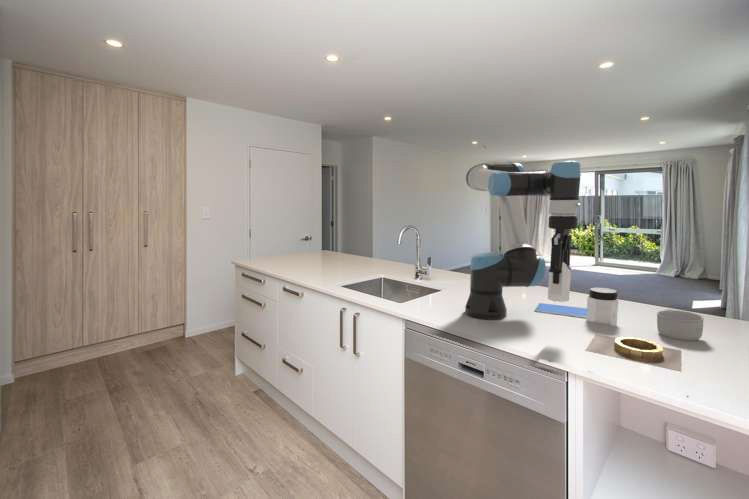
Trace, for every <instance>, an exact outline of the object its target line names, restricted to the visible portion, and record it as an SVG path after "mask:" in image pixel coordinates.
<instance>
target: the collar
mask: <svg viewBox="0 0 749 499" xmlns="http://www.w3.org/2000/svg"><path fill="white" fill-rule="evenodd" d="M615 338H616V339H615V342H614V349H616V350H617V351H618V352H620V353H622V354H625V355H627V356H631V357H635V358H640V359H651V360H656V359H660V358H662V353H663V347H664V346H661V344H659V343H657V342H654V341H650V340H648V339H644V338H638V337H630V336H628V337H627V336H620V337H615ZM626 345H627V346H626ZM628 346H637V347H642V348H646V349H649V350H640V349H635V348H631V347H628Z"/></svg>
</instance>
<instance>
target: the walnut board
mask: <svg viewBox="0 0 749 499" xmlns="http://www.w3.org/2000/svg"><path fill="white" fill-rule="evenodd" d="M616 338H617V337H613V336H607V335H604V334H603V335H602V334H597V333H596V334H595V335H594V336H593V338H592V339H591V341H590V343H589V344H588V346H587V347H586V349H585V352H591V353H594V354H595V353H596V354H599V355H603V356H609V357H614V358H616V359H621V360H626V361H627V360H628V361H632V362H636V363H641V364H645V365H648V366H653V367H659V368H663V369H666V370H667V369H668V370H673V371H677V372H682V350H680V349H675V348H671V347H665V346H662V347H663V353H662V358H660V359H656V360H651V359H640V358H635V357H631V356H627V355H625V354H622V353H620V352H618V351H617V350H616V349H614V342H615V339H616ZM626 346H627V345H626ZM628 347H631V348H635V349H640V350H649V349H646V348H642V347H637V346H628Z"/></svg>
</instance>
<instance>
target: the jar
mask: <svg viewBox="0 0 749 499" xmlns="http://www.w3.org/2000/svg"><path fill="white" fill-rule="evenodd" d="M586 302H587V304H586V308H587V316H586V318H585V319H586V320H585V321H586V322H591V323H597V324H602V325H607V326H613V327H614V326H615V327H616V326H617V325H618V312H619V311H618V308H619V298H618V290H615V289H612V288H608V287H607V288H606V287H591V288H589V292H588V296H587V300H586Z"/></svg>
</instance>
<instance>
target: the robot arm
mask: <svg viewBox="0 0 749 499" xmlns="http://www.w3.org/2000/svg"><path fill="white" fill-rule="evenodd" d="M465 175H466V176H465V182H466V185H467V186H469V188H470V189H472V190H475V191H483V192H488V193H489V194H490V196H492V197H494V198H495V199H497V201H498V207H499V212H500V218H501V223H502V228H503V234H504V240H505V247H506V250H505V252H504V253H503V252H500V251H489V252H482V253H476V254H475V255H473V256H472V257H471V259H470V267H469V268H470V278H469V279H470V280H469V281H470V283H469V284H470V285H469V286H470V289H469V291H470V292H469V295H468V298H467V301H466V304H465V306H464V308H465V310H464V311H465V312H464V313H465V314H466V316H469V317H471V318H476V319H481V320H500V319H503V318H507V311H508V310H507V306H506V303H505V300H504V297H503V288H504V287H505V288H508V287H509V288H510V287H511V288H512V287H513V288H515V287H520V288H521V287H526V288H528V287H537V286H539V285H541V283H542V282H543V281H544V278H545V274H546V269H547V268H546V267H547V266H546V261H545V258H544V257H543V256H542V255H540V254H537V251H536V248H535V247H534V246H531V243H530V239H529V234H528V233H529V232H528V227H527V223H526V222H527V221H526V218H525V213H524V209H523V203H522V198H521V196H522V197H526V196H527V197H530V196H532V197H534V196H536V197H537V196H538V197H547V196H549V208H548V214H549V215H550V216H549V217H548V228H549V229H551V230H555V232H554V234H553V236H552V237H551V239H550V240H551V242H550V243H551V249H550V264H549V265H550V267H549V269H548V273H549V272H552V281H551V294H557V295H561V293H562V275H563V273H561V272H562V264H563V262H564V263H565V264H566V265H567V267H568V269H569V270H571V269H572V266H571V264H570V263H571V261H570V260H571V246H572V245H571V244H572V243H571V242H572V237H573V236H572V234H571V233H570V230H576V229H577V228H578V217H577V214H578V213H579V212H578V211H579V208H580V207H581V203H579V199H580V198H579V197H580V189H581V188H580V187H581V186H580V185H581V176H582V173H581V163H580V162H579V161H577V160H566V161H556V162H553V163H552V165H551V169H550V170H549V171H548V170H547V171H526V169H525V167H524V166H523V165H522V164H521V163H518V162H510V161H509V162H482V163H479V164H476V165H473V166H471V167H470V168H469V170H468V171H467V172H466V174H465ZM556 267H557V268H556Z"/></svg>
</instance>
